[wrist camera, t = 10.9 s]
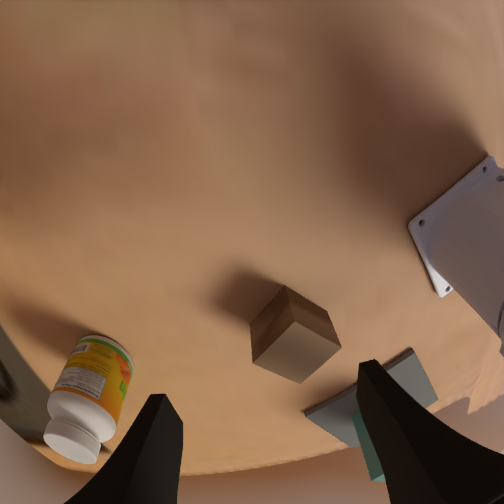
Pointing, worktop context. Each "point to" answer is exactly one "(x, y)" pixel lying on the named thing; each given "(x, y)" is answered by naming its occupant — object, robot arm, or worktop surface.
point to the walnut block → (292, 336)
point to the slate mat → (345, 404)
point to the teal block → (368, 449)
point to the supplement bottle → (88, 398)
